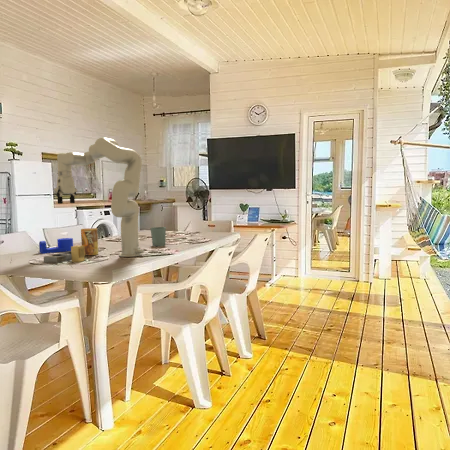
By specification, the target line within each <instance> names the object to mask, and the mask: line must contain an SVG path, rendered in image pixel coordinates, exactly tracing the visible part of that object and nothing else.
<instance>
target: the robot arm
mask: <svg viewBox="0 0 450 450" xmlns="http://www.w3.org/2000/svg"><path fill="white" fill-rule="evenodd" d="M56 157H57V182H56V188H54V189H53V192H54V194H55V195H56V196H55V197H56V198H57V204H59V205H60V204H64V203H63V195H65V194H68V195H70V196H69V203H70V204H75V203H76V202H75V201H76V199H75V197H76V194H77V191H78V189H77V188H75V181H74V178H73V173H72V170H73V169H72V166H78V167H85V166H87V165H92V164H93V163H94V164H95V163H96V162H97V161H98V160H99V159H102V158H107V159H109V160H110V161H112V162H114V163H116V164H126V168H125V170H124V176H123V179H120V180H118V181H116V182H115V184H114V185H113V188H112V194H111V205H110V210H111V213H112V215H113V216H114V217H116V218H121V220H120V243H121V252H120V253H119V254H118V257H121V258H123V257H124V258H133V257H140V256H142V255H143V253H144V252H145V249H141V246H139V245H140V244H139V215H140V214H139V213H140V206H139V204H138V202H136V201H135V200H133V199H129V198H135V197H137V196H138V194H139V190H140V189H139V188H140V182H141V181H140V180H141V172H142V171H141V170H142V167H143V163H142V162H143V161H142V157H141V155H140V154H139V153H138V152H137V151H136V150H134V149H131V148H127V147H121V146H119V143H118V142H117V141H116V140H115V139H113V138H108V137H98V138H97V139H96V140H95V142H94V144H90V146H89V147H88V151H86V152H75V151H73V152H71V151H69V152H65V153H63V152H62V153H58V154H57V156H56Z"/></svg>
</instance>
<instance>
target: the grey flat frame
mask: <svg viewBox="0 0 450 450" xmlns="http://www.w3.org/2000/svg"><path fill="white" fill-rule="evenodd" d="M69 261H72V256H71V251H66V252H58V253H53V254H51V255H45V256H43V263H50V264H51V263H53V264H60V263H63V262H69Z"/></svg>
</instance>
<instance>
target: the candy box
mask: <svg viewBox="0 0 450 450" xmlns="http://www.w3.org/2000/svg"><path fill="white" fill-rule="evenodd" d="M80 236H81V237H80V238H81V246H84V256H97V255H99V238H98V237H99V236H98V228H97V227H94V228H93V227H92V228H91V227H90V228H81V229H80Z"/></svg>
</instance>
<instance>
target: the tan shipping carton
mask: <svg viewBox="0 0 450 450" xmlns="http://www.w3.org/2000/svg"><path fill="white" fill-rule="evenodd" d="M71 256H72V260H71V262H72V263H80V262H84V261H85V255H84V246H82V245H79V244H77V245H73V246H72V247H71Z"/></svg>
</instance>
